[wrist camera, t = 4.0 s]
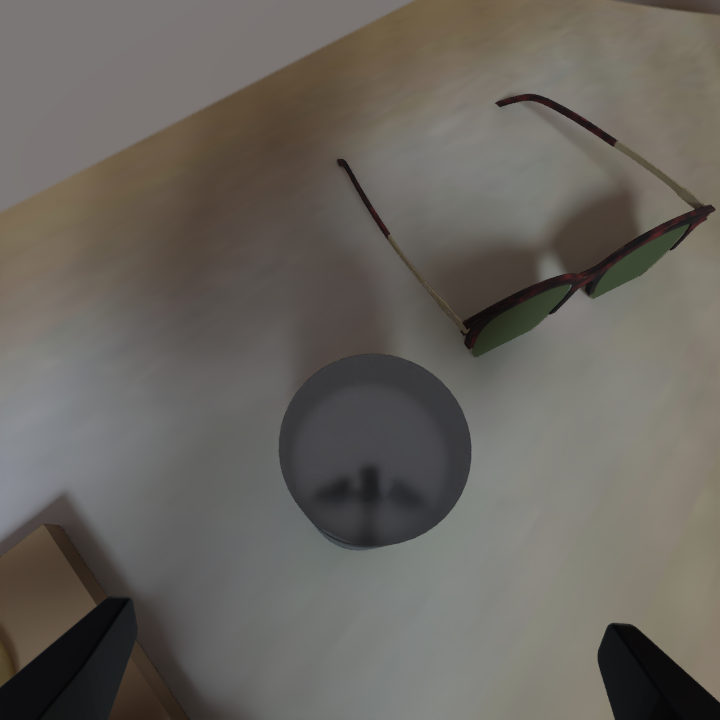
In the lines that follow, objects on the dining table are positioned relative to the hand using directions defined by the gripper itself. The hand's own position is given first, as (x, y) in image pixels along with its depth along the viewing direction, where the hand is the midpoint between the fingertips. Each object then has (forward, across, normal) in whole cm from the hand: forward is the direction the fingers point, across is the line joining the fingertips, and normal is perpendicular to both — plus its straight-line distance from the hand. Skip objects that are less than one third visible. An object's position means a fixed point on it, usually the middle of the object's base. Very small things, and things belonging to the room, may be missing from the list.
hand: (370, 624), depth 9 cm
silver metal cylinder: (+10, 0, +5) cm, 12 cm away
